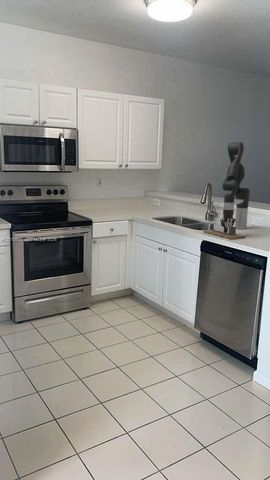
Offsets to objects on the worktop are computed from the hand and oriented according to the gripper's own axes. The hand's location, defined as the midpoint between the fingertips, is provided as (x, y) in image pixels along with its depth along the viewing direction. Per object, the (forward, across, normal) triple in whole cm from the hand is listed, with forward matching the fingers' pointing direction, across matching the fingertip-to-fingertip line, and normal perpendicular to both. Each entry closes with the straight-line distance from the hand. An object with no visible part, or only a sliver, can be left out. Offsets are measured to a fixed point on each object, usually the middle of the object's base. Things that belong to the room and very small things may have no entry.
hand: (227, 232), depth 283 cm
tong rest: (+3, 0, +3) cm, 4 cm away
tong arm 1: (0, -1, +3) cm, 3 cm away
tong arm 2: (0, +1, +3) cm, 3 cm away
